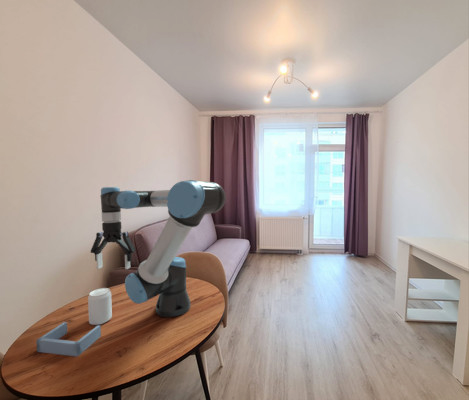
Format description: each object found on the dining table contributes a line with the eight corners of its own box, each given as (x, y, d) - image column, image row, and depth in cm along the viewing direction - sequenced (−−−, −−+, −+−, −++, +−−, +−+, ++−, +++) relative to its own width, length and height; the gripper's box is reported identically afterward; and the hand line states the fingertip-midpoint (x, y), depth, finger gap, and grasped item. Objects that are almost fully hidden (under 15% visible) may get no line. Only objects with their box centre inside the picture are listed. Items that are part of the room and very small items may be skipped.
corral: (100, 336, 80) (100, 325, 80) (77, 356, 70) (77, 344, 70) (64, 332, 83) (64, 322, 82) (36, 351, 73) (36, 339, 73)
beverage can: (101, 327, 85) (100, 297, 85) (83, 325, 87) (82, 295, 87) (116, 315, 93) (115, 288, 93) (100, 313, 95) (99, 286, 95)
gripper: (142, 220, 101) (144, 265, 101) (92, 220, 103) (94, 265, 104) (133, 222, 93) (135, 271, 94) (79, 223, 96) (81, 270, 96)
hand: (113, 268), depth 99 cm, fingers open, 13 cm apart
